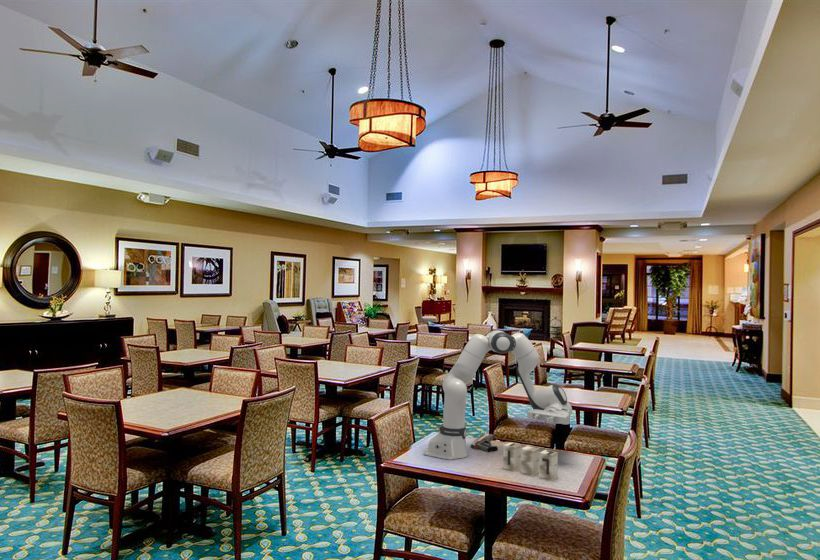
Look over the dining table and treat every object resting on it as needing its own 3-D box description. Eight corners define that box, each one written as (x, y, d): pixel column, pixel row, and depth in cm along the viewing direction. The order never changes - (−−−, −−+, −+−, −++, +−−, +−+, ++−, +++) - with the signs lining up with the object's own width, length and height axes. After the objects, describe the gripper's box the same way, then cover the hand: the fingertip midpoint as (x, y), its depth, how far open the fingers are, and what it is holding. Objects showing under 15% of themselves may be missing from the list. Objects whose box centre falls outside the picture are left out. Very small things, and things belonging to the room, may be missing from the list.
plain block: (520, 473, 234) (520, 448, 235) (526, 469, 239) (526, 445, 239) (533, 476, 230) (533, 451, 231) (538, 472, 235) (538, 448, 236)
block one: (503, 468, 240) (503, 444, 240) (509, 465, 245) (509, 442, 245) (514, 471, 236) (514, 447, 236) (521, 468, 241) (521, 444, 241)
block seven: (539, 477, 228) (539, 452, 229) (545, 474, 233) (545, 449, 234) (551, 481, 225) (552, 455, 225) (557, 477, 229) (557, 452, 230)
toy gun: (494, 454, 263) (466, 450, 270) (509, 441, 289) (483, 437, 296) (494, 448, 263) (466, 444, 270) (509, 435, 289) (483, 432, 296)
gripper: (533, 405, 262) (521, 409, 251) (573, 411, 249) (561, 416, 239) (533, 417, 262) (521, 422, 251) (573, 424, 249) (561, 429, 238)
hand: (541, 419), depth 245 cm, fingers open, 4 cm apart
